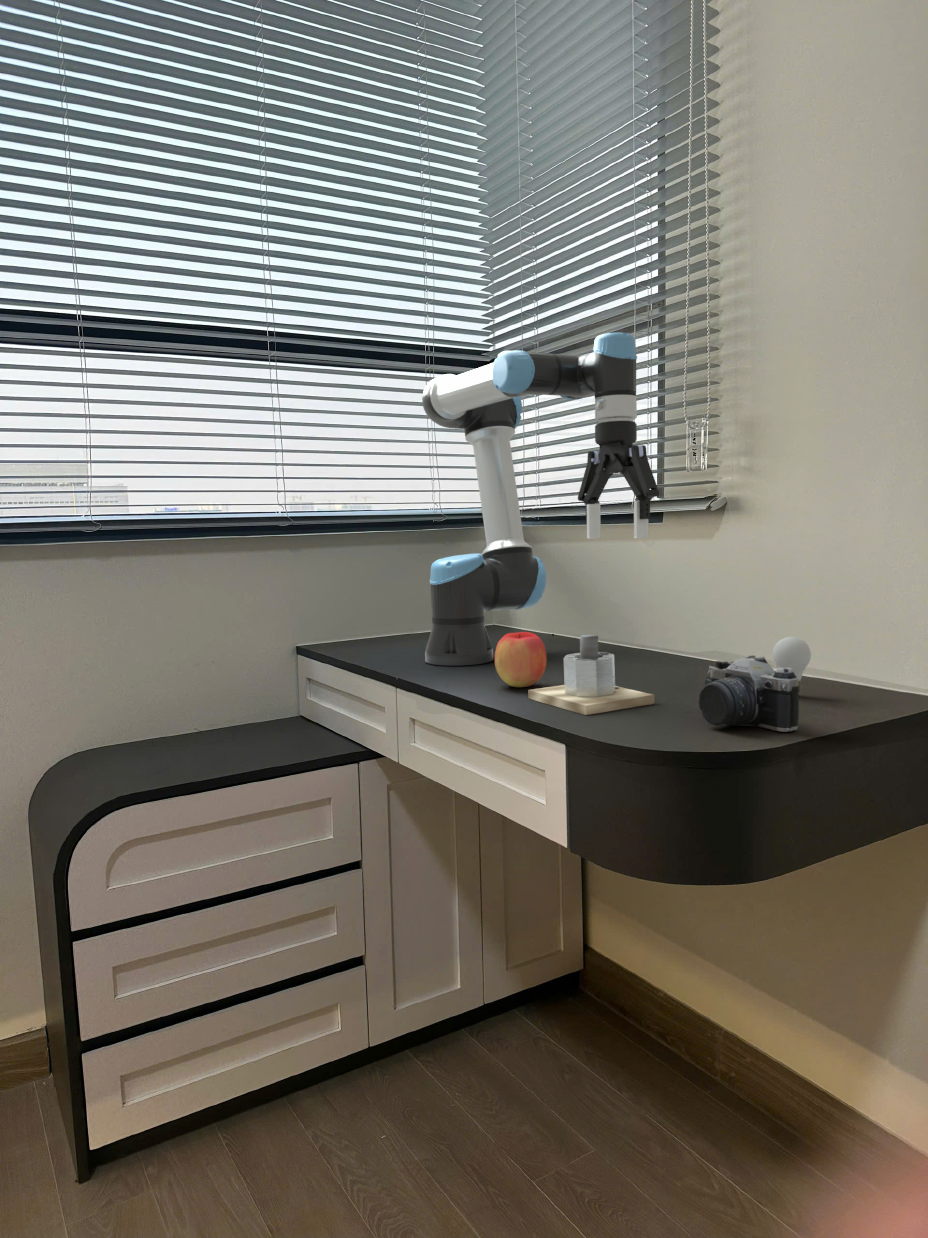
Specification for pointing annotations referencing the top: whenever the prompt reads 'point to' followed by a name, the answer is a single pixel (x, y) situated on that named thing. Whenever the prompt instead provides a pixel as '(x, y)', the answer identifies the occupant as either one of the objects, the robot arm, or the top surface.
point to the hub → (589, 675)
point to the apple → (520, 659)
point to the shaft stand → (590, 704)
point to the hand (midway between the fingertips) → (616, 538)
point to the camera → (751, 695)
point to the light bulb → (792, 655)
